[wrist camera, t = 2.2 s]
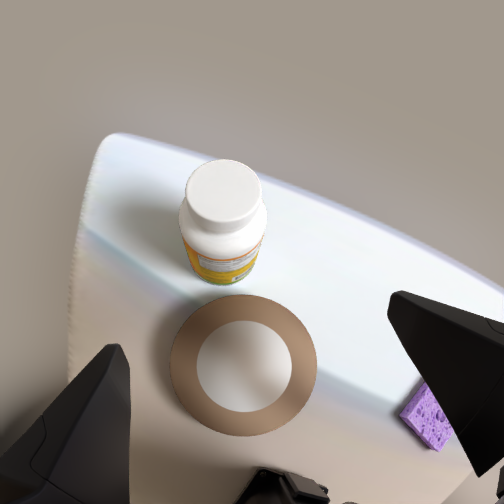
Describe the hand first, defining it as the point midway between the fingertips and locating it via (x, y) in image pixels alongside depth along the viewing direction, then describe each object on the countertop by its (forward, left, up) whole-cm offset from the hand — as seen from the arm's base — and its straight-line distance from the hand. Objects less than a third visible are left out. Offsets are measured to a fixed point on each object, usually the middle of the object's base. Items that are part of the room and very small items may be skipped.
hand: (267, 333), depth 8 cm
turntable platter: (-1, -1, -13) cm, 13 cm away
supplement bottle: (+6, +5, -14) cm, 16 cm away
